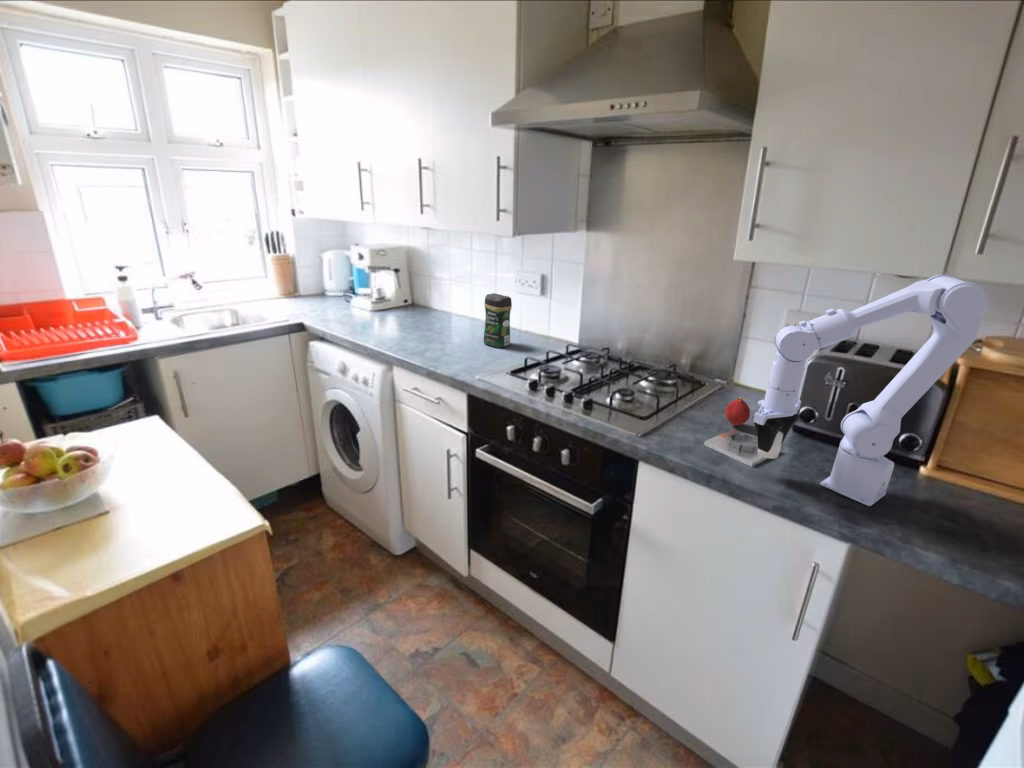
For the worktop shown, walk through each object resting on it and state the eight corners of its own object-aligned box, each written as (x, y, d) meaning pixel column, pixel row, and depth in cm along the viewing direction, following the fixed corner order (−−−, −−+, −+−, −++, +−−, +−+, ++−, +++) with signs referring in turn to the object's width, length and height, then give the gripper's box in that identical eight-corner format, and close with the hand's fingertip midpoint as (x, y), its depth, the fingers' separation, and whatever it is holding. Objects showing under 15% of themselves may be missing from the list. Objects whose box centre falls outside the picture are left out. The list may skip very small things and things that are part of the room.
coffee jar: (479, 343, 191) (480, 293, 185) (494, 339, 197) (496, 290, 190) (498, 349, 186) (500, 298, 179) (513, 345, 191) (515, 295, 184)
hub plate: (779, 452, 121) (782, 442, 120) (751, 466, 114) (753, 456, 113) (732, 432, 130) (734, 423, 129) (704, 444, 123) (705, 435, 122)
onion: (727, 419, 137) (732, 390, 134) (749, 425, 134) (756, 397, 131) (719, 426, 133) (725, 397, 130) (742, 433, 129) (749, 403, 127)
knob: (763, 447, 112) (768, 425, 110) (781, 455, 109) (787, 432, 107) (753, 452, 110) (758, 430, 108) (771, 460, 107) (777, 437, 105)
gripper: (782, 374, 111) (769, 431, 116) (744, 387, 103) (732, 448, 108) (816, 384, 106) (801, 443, 110) (779, 399, 97) (764, 462, 102)
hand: (769, 447), depth 109 cm, fingers closed on knob, 4 cm apart
